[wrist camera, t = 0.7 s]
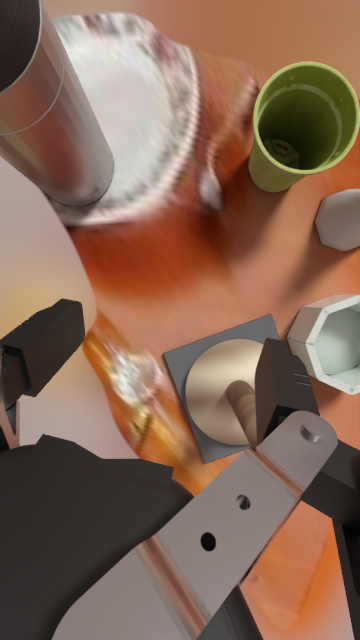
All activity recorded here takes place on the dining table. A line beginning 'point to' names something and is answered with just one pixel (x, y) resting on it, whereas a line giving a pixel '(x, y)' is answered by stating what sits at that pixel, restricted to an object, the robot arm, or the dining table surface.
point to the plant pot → (301, 124)
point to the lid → (225, 391)
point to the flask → (340, 220)
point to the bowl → (330, 341)
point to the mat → (186, 356)
